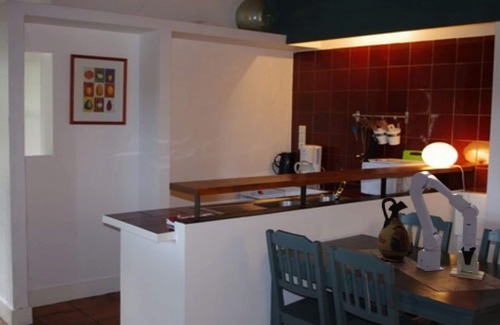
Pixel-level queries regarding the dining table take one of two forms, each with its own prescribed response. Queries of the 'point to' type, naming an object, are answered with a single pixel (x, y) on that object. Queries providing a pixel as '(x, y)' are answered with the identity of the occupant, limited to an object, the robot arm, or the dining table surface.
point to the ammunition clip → (411, 240)
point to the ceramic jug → (393, 233)
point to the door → (461, 260)
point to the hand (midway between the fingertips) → (467, 263)
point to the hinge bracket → (467, 272)
